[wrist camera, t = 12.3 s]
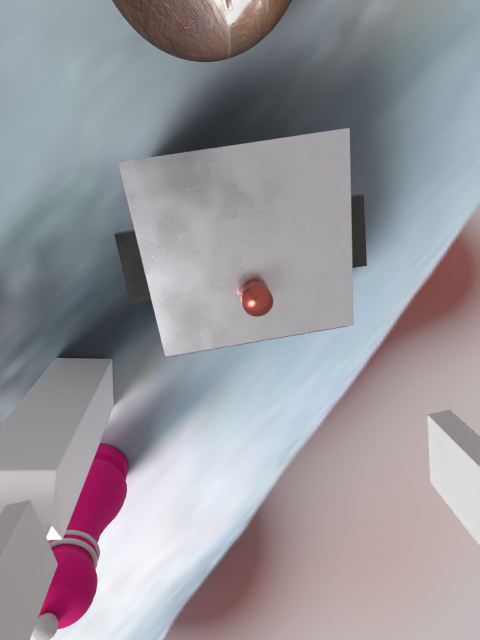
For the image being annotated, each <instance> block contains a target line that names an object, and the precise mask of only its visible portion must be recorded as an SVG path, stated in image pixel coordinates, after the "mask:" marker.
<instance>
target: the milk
mask: <svg viewBox="0 0 480 640" xmlns="http://www.w3.org/2000/svg"><path fill="white" fill-rule="evenodd" d="M113 407H114V396H113V368H112V359H91V358H56V359H55V360H54V361H53V362H52V364H51V365H50V366H49V367H48V368H47V370H46V371H45V372H44V373H43V375H42V376H41V377H40V378H39V379H38V381H37V382H36V383H35V384H34V385H33V387H32V388H31V389H30V390H29V391H28V393H27V394H26V395H25V396H24V398H23V399H22V400H21V401H20V402H19V404H18V405H17V406H16V407H15V408H14V410H13V411H12V412H11V413H10V414H9V416H8V417H7V418H6V419H5V420H4V422H3V423H2V424H1V425H0V515H1V513H2V511H3V510H4V508H5V506H6V505H9V504H14V503H18V502H23V501H28V500H30V501H31V503H32V505H33V508H34V510H35V512H36V515H37V517H38V519H39V521H40V524H41V526H42V528H43V531H44V533H45V535H46V538H47V540H61V539H63V537H64V535H65V532H66V529H67V527H68V524H69V522H70V519H71V516H72V514H73V511H74V509H75V506H76V503H77V501H78V498H79V496H80V493H81V490H82V488H83V485H84V483H85V480H86V477H87V475H88V472H89V470H90V467H91V464H92V462H93V459H94V457H95V454H96V451H97V449H98V446H99V444H100V441H101V438H102V436H103V433H104V431H105V428H106V425H107V423H108V420H109V418H110V415H111V412H112V410H113Z"/></svg>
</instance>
